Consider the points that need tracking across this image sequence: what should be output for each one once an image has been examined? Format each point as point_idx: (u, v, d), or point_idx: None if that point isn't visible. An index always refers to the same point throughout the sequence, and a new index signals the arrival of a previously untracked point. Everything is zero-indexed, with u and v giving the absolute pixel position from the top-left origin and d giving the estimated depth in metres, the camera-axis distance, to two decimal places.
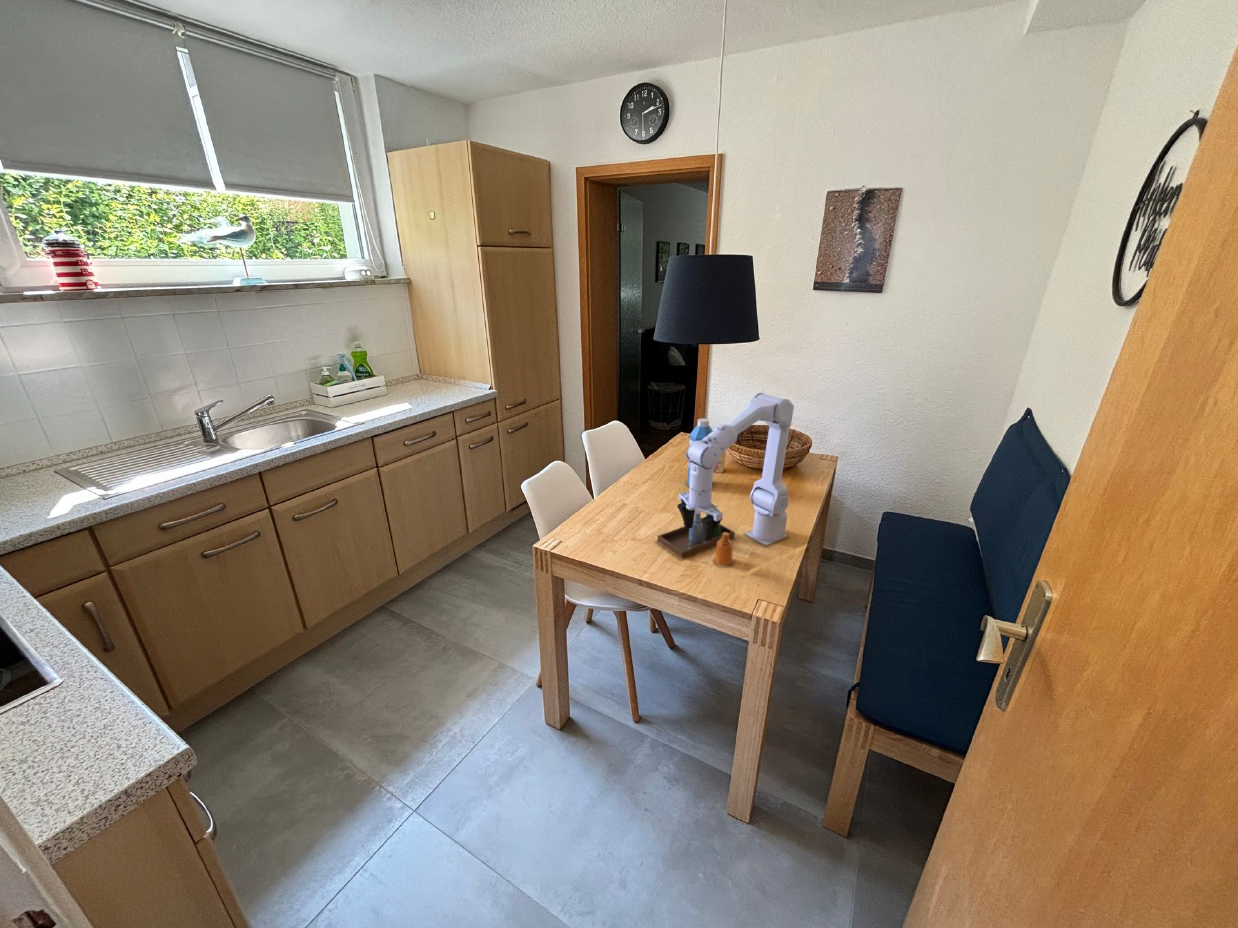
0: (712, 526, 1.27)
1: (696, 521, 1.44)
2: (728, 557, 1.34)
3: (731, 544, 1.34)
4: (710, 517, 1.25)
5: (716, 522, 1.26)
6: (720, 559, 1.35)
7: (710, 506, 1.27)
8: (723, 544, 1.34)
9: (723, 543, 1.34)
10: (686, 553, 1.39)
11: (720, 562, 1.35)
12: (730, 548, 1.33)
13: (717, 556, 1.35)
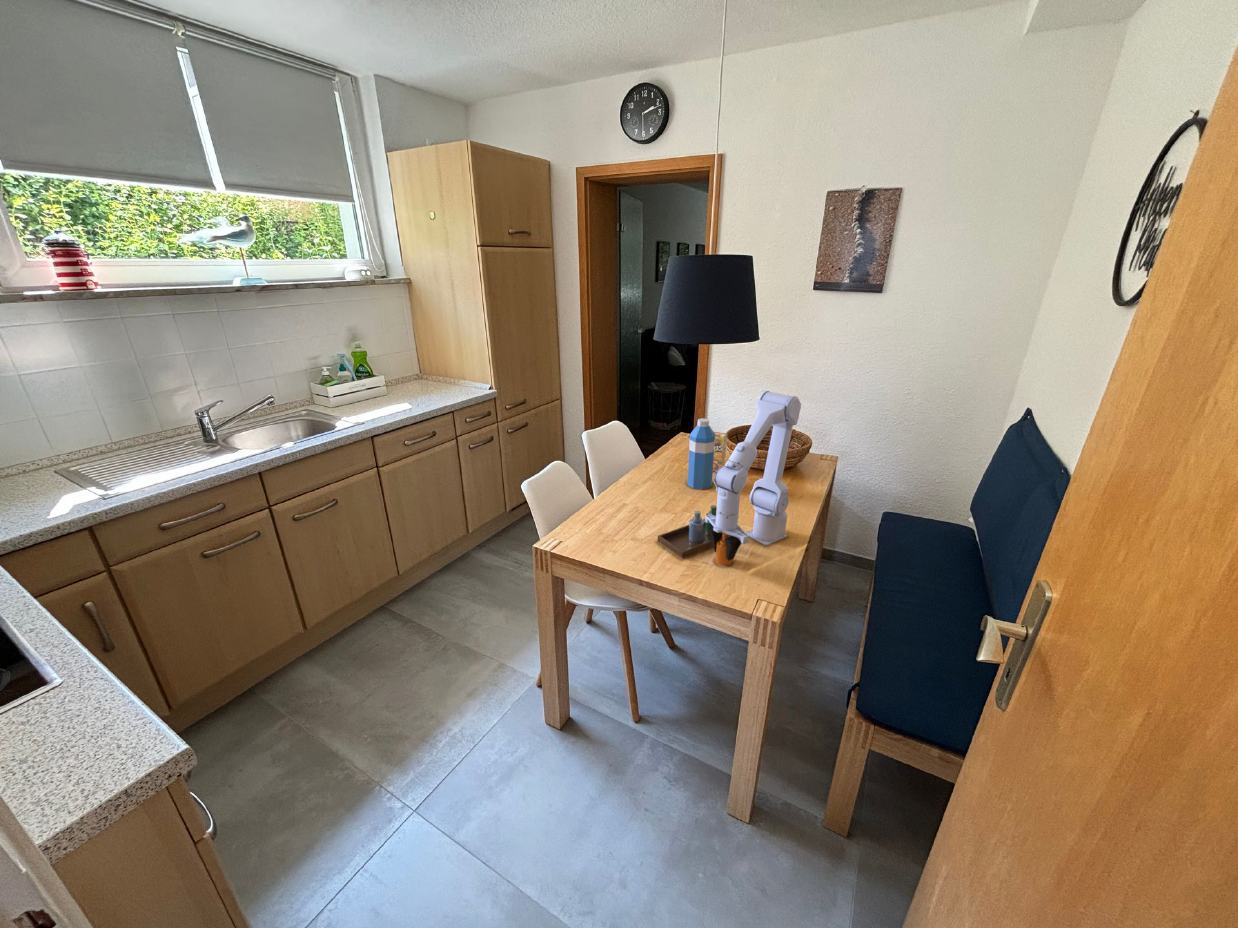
0: (735, 546, 1.33)
1: (696, 521, 1.44)
2: None
3: None
4: (733, 537, 1.30)
5: (739, 542, 1.32)
6: (720, 559, 1.35)
7: (737, 528, 1.31)
8: (723, 544, 1.34)
9: (723, 543, 1.34)
10: (686, 553, 1.39)
11: (720, 562, 1.35)
12: None
13: (717, 556, 1.35)
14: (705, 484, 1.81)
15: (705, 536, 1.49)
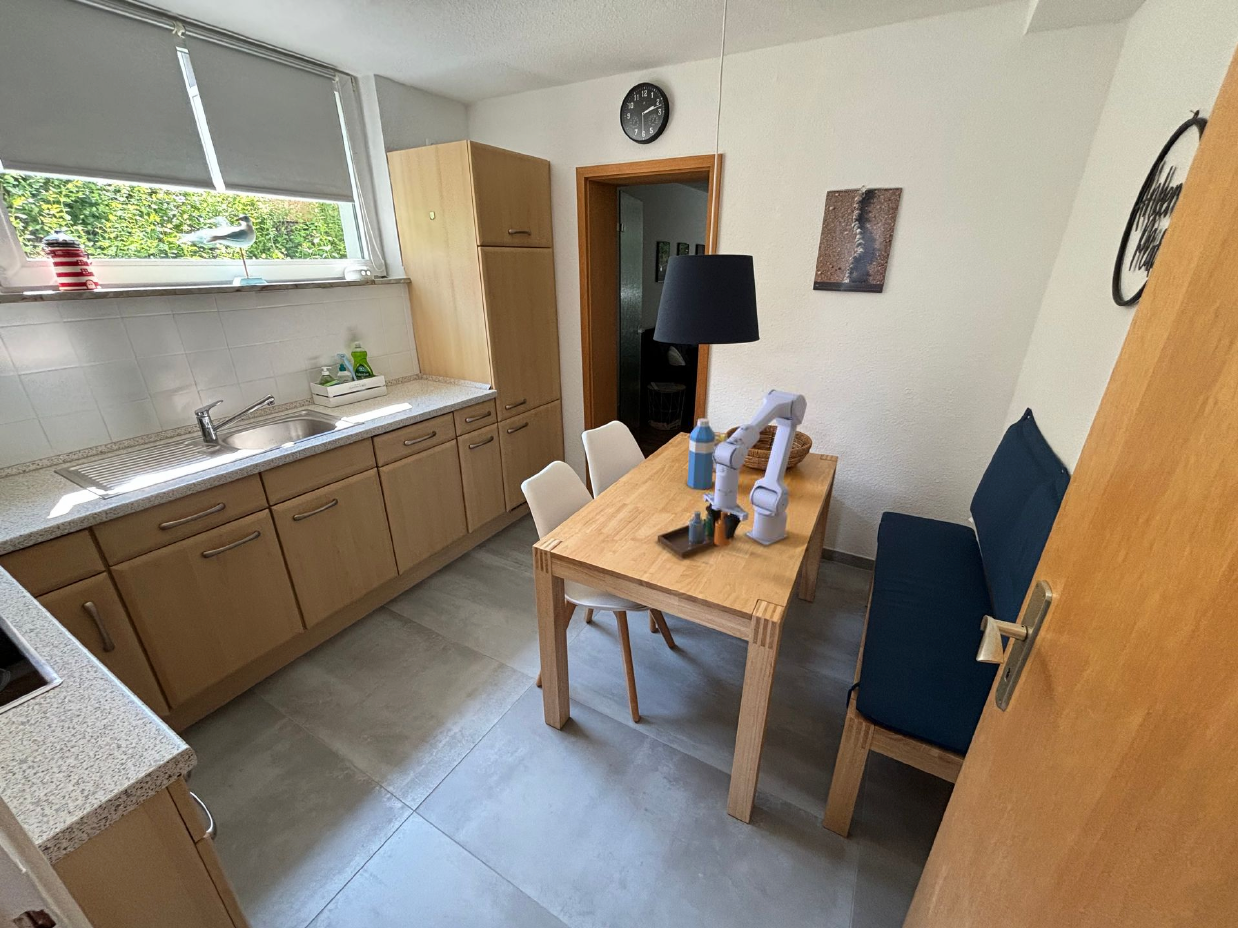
0: (734, 524, 1.30)
1: (696, 521, 1.44)
2: None
3: None
4: (732, 515, 1.27)
5: (738, 520, 1.29)
6: (719, 538, 1.32)
7: (736, 506, 1.28)
8: (722, 523, 1.31)
9: (722, 522, 1.31)
10: (686, 553, 1.39)
11: (719, 541, 1.32)
12: None
13: (716, 535, 1.32)
14: (705, 484, 1.81)
15: (705, 536, 1.49)
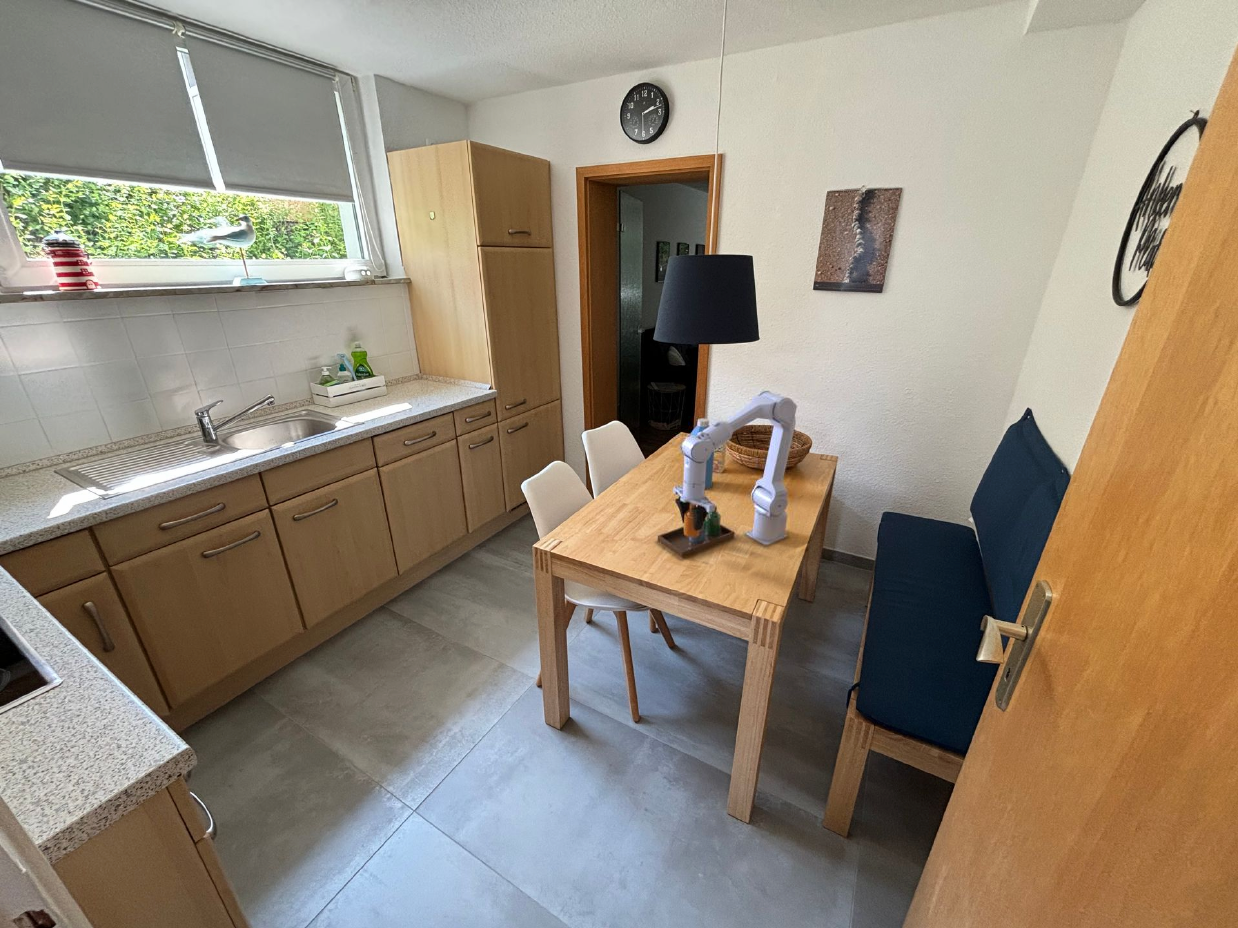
0: (702, 516, 1.34)
1: None
2: None
3: None
4: (700, 507, 1.31)
5: (706, 512, 1.33)
6: (688, 529, 1.36)
7: (703, 498, 1.32)
8: (691, 515, 1.35)
9: (690, 513, 1.35)
10: (686, 553, 1.39)
11: (688, 533, 1.36)
12: None
13: (685, 527, 1.36)
14: (705, 484, 1.81)
15: (705, 536, 1.49)
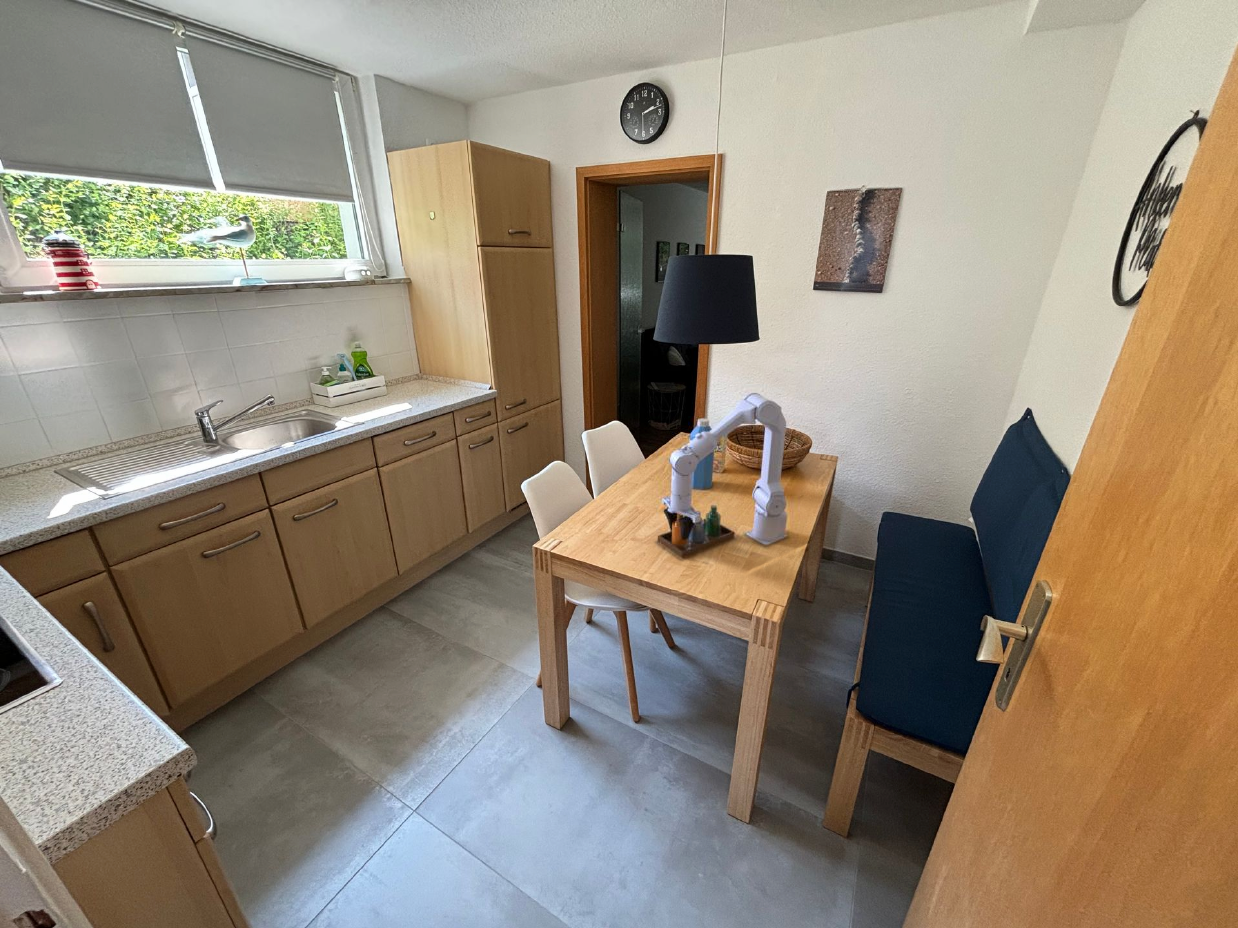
0: (689, 526, 1.40)
1: None
2: None
3: None
4: (686, 517, 1.37)
5: (692, 522, 1.39)
6: (675, 539, 1.42)
7: (690, 509, 1.38)
8: (678, 525, 1.40)
9: (678, 523, 1.40)
10: (686, 553, 1.39)
11: (675, 542, 1.42)
12: None
13: (673, 536, 1.42)
14: (705, 484, 1.81)
15: (705, 536, 1.49)
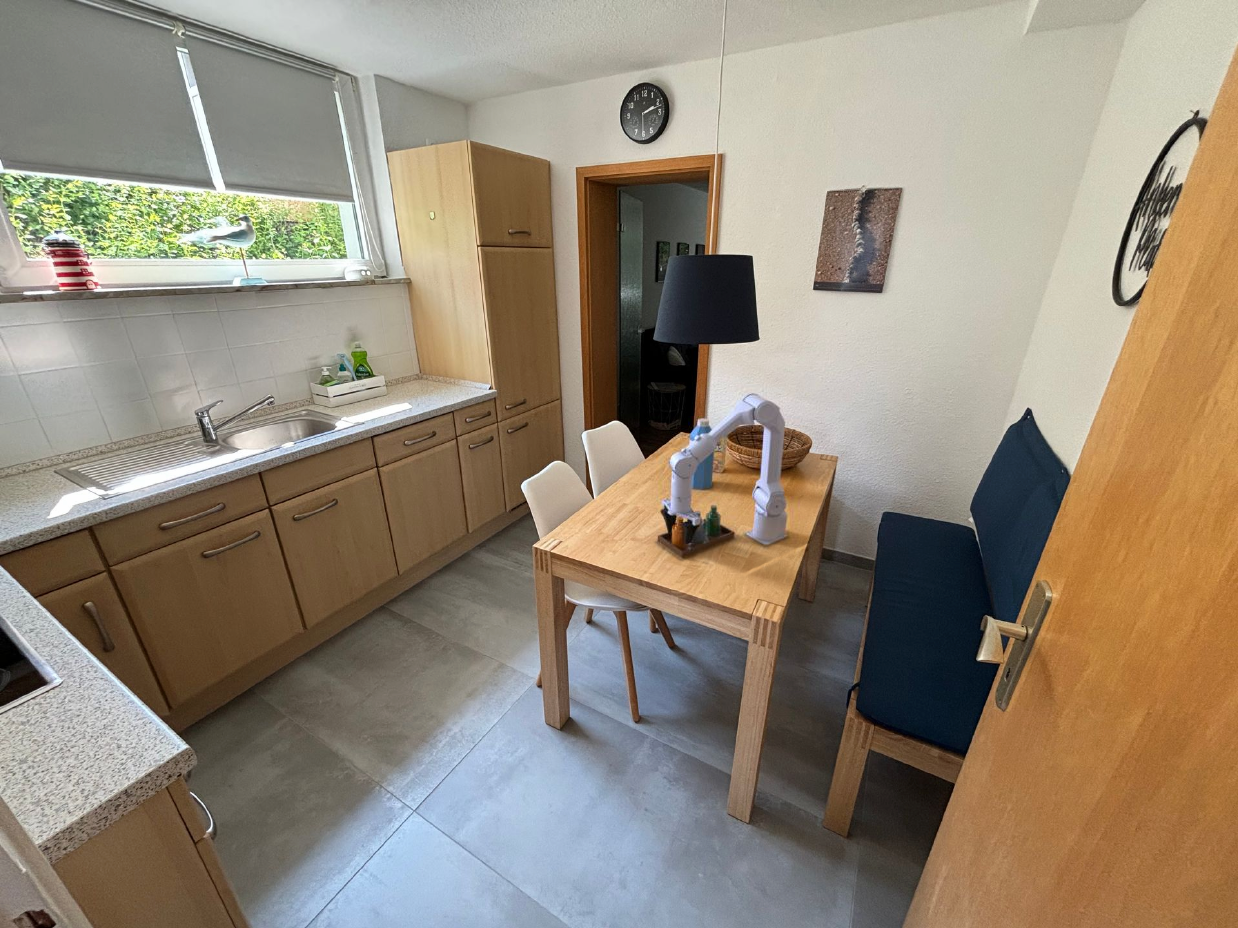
0: (692, 530, 1.39)
1: None
2: (682, 540, 1.41)
3: None
4: (689, 522, 1.36)
5: (695, 526, 1.38)
6: (675, 542, 1.42)
7: (690, 512, 1.38)
8: (678, 528, 1.41)
9: (678, 527, 1.41)
10: (686, 553, 1.39)
11: (675, 545, 1.42)
12: None
13: (672, 540, 1.43)
14: (705, 484, 1.81)
15: (705, 536, 1.49)
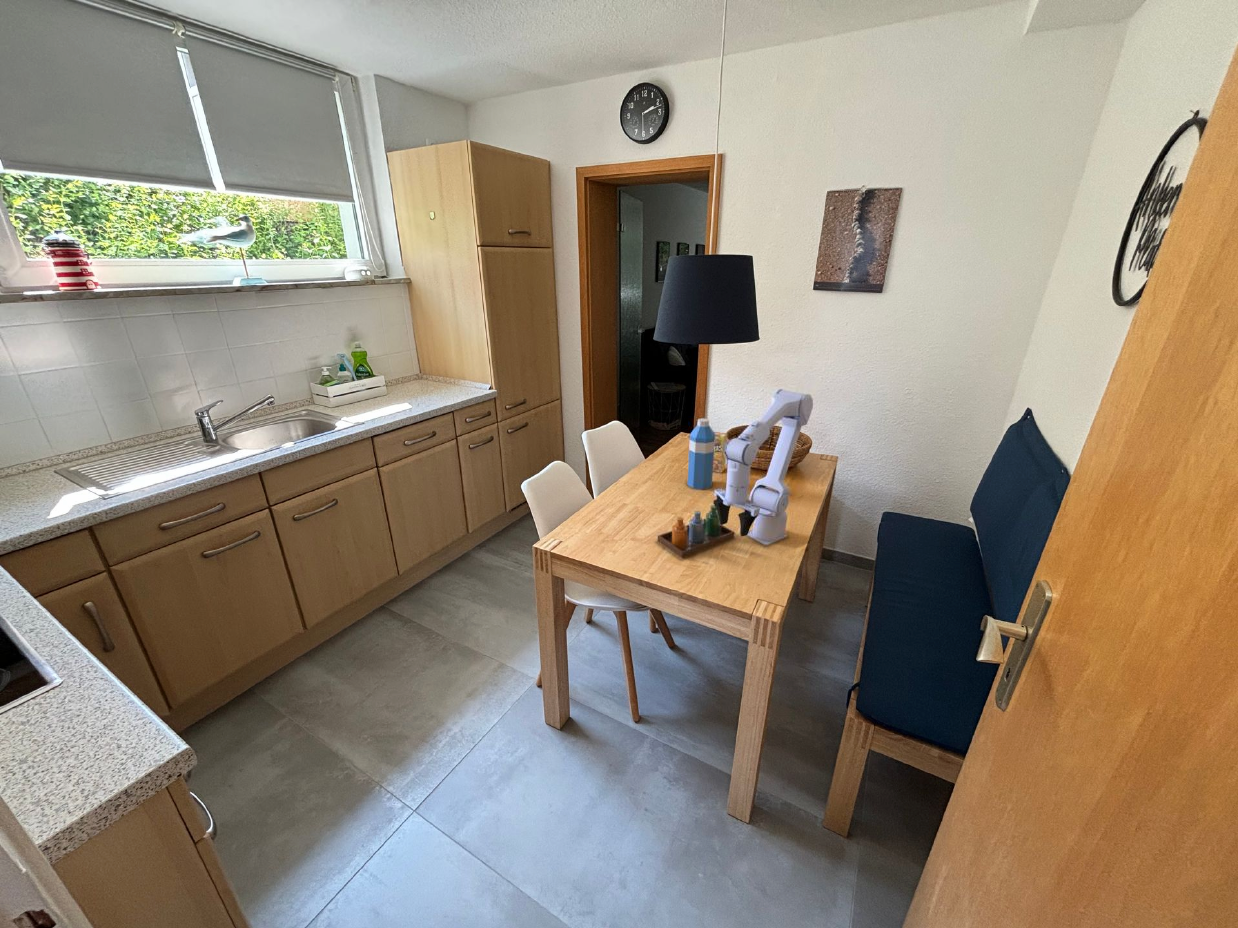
0: (748, 521, 1.31)
1: (696, 521, 1.44)
2: (682, 540, 1.41)
3: (685, 528, 1.42)
4: (747, 512, 1.28)
5: (753, 517, 1.30)
6: (675, 542, 1.42)
7: (747, 502, 1.30)
8: (678, 528, 1.41)
9: (678, 527, 1.41)
10: (686, 553, 1.39)
11: (675, 545, 1.42)
12: (684, 532, 1.41)
13: (672, 540, 1.43)
14: (705, 484, 1.81)
15: (705, 536, 1.49)
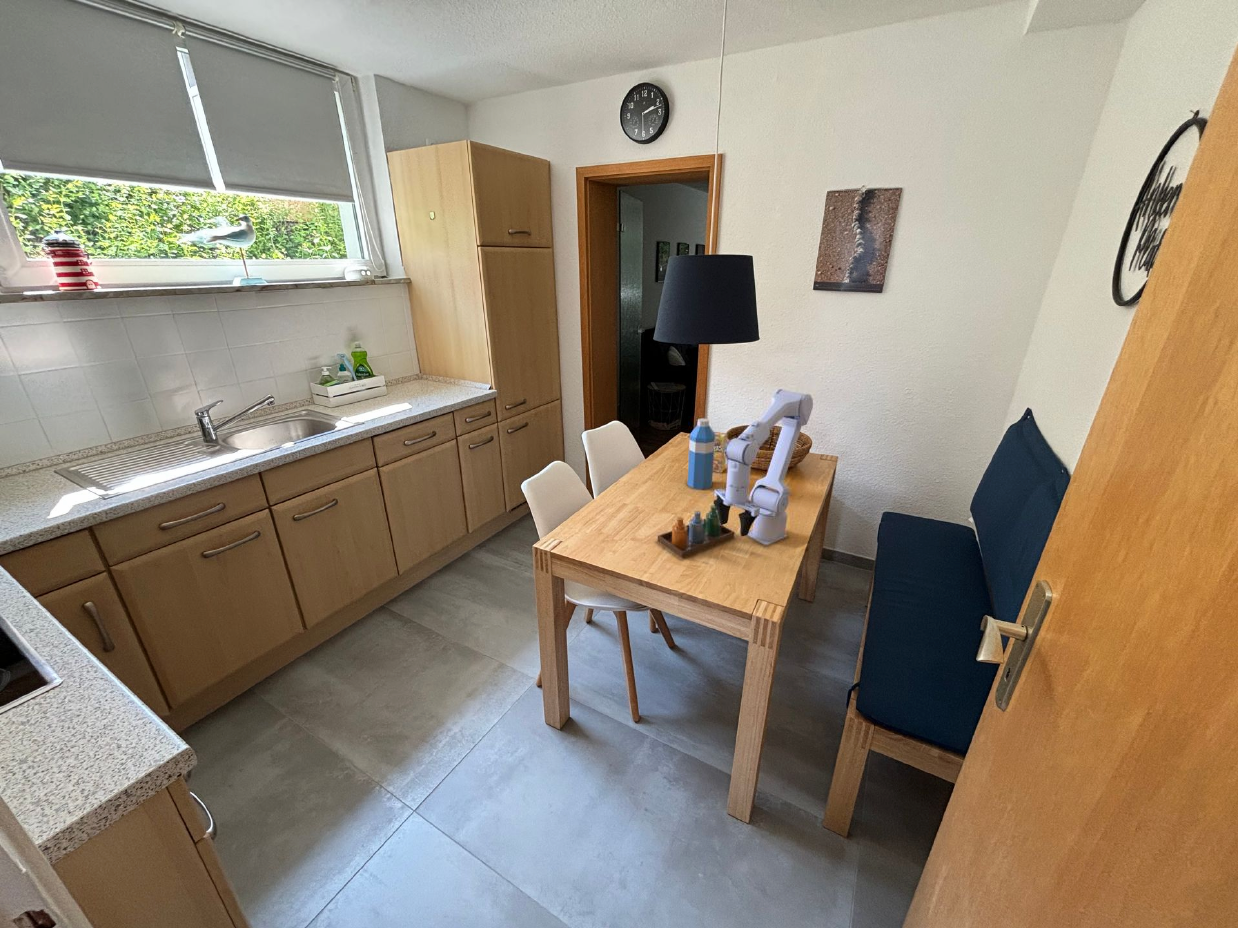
0: (749, 521, 1.31)
1: (696, 521, 1.44)
2: (682, 540, 1.41)
3: (685, 528, 1.42)
4: (747, 512, 1.28)
5: (753, 517, 1.30)
6: (675, 542, 1.42)
7: (747, 502, 1.30)
8: (678, 528, 1.41)
9: (678, 527, 1.41)
10: (686, 553, 1.39)
11: (675, 545, 1.42)
12: (684, 532, 1.41)
13: (672, 540, 1.43)
14: (705, 484, 1.81)
15: (705, 536, 1.49)
